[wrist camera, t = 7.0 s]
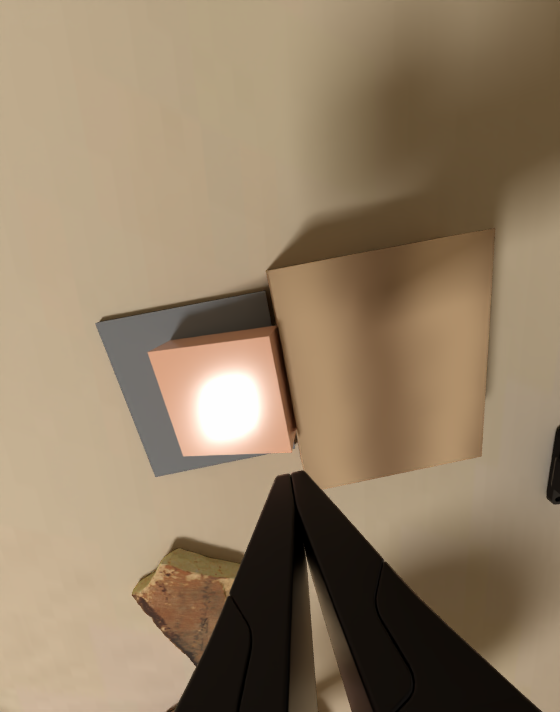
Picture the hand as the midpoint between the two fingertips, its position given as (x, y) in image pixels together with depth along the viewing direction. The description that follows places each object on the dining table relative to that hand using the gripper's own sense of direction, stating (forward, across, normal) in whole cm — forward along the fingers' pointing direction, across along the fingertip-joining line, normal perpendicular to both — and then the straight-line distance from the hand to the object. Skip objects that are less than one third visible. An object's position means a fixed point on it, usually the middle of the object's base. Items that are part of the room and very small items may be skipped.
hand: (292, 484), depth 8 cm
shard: (+9, +8, +17) cm, 21 cm away
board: (+9, -6, 0) cm, 10 cm away
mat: (+9, +4, 0) cm, 10 cm away
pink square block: (+8, +2, 0) cm, 8 cm away
